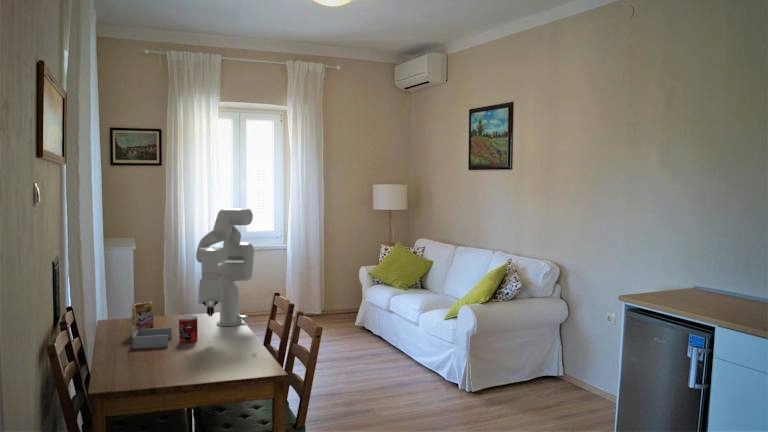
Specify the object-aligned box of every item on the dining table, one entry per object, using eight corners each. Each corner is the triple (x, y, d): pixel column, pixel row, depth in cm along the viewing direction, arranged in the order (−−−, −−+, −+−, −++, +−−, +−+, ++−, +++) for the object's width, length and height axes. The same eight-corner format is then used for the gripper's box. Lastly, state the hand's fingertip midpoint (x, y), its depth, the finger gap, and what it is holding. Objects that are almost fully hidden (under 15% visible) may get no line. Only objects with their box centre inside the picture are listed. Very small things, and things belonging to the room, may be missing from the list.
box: (171, 338, 274) (171, 327, 274) (168, 346, 260) (168, 335, 260) (137, 340, 271) (137, 329, 270) (131, 348, 256) (131, 337, 256)
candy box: (135, 337, 276) (134, 304, 276) (131, 335, 279) (131, 303, 279) (154, 333, 282) (153, 302, 282) (150, 332, 286) (149, 300, 285)
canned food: (175, 342, 267) (175, 318, 267) (189, 338, 274) (188, 314, 274) (188, 344, 264) (187, 319, 263) (201, 340, 271) (200, 316, 270)
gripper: (227, 274, 275) (227, 313, 276) (193, 275, 272) (193, 315, 272) (226, 276, 268) (227, 316, 268) (192, 277, 264) (192, 318, 265)
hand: (210, 315), depth 270 cm, fingers closed
